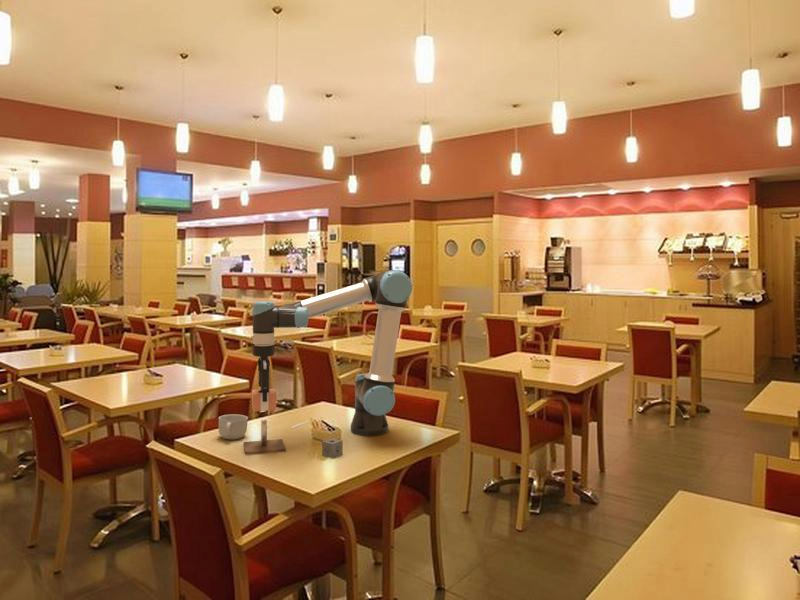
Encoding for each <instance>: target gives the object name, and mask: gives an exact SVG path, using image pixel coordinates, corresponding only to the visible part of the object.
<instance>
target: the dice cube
mask: <svg viewBox="0 0 800 600" xmlns="http://www.w3.org/2000/svg"><path fill="white" fill-rule="evenodd" d="M321 445H322V446H321V454H322V456H323V457H327V458H331V459H334V458H338V457H339V456H340V457H341V456H342V455H343V450H344V449H343V445H344V444H343V439H342V440H341V439H338V438H333V437H331V438H328V439H325V440H322V442H321Z"/></svg>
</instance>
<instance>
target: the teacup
mask: <svg viewBox="0 0 800 600" xmlns="http://www.w3.org/2000/svg"><path fill="white" fill-rule="evenodd" d="M248 421H249V416H247V415H243V414H235V413H234V414H233V413H232V414H231V413H230V414H224V415H220V416H218V433H219V435H220V436H221V437H222V438H223V439H225V440H231V441H232V440H238V439H241V438H243V436H245V435H246V433H247V430H248Z"/></svg>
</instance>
